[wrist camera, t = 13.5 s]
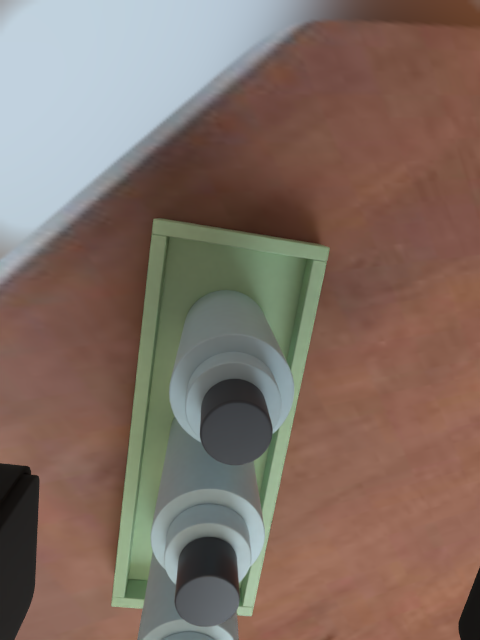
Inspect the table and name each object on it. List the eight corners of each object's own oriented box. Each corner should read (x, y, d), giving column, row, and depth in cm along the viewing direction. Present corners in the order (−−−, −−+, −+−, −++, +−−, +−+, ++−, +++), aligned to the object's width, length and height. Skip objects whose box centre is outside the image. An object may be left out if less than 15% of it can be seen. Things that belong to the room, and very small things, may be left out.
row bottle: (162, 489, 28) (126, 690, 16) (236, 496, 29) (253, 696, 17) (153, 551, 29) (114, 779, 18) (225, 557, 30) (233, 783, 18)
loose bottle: (189, 283, 25) (169, 352, 13) (273, 296, 25) (326, 373, 14) (178, 363, 26) (151, 492, 14) (259, 374, 26) (296, 506, 15)
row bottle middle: (175, 392, 26) (145, 539, 15) (254, 402, 27) (286, 551, 15) (165, 462, 28) (131, 650, 16) (241, 470, 28) (262, 658, 16)
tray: (158, 217, 24) (153, 218, 22) (320, 244, 25) (330, 247, 23) (117, 580, 30) (110, 606, 28) (249, 590, 31) (251, 616, 29)
